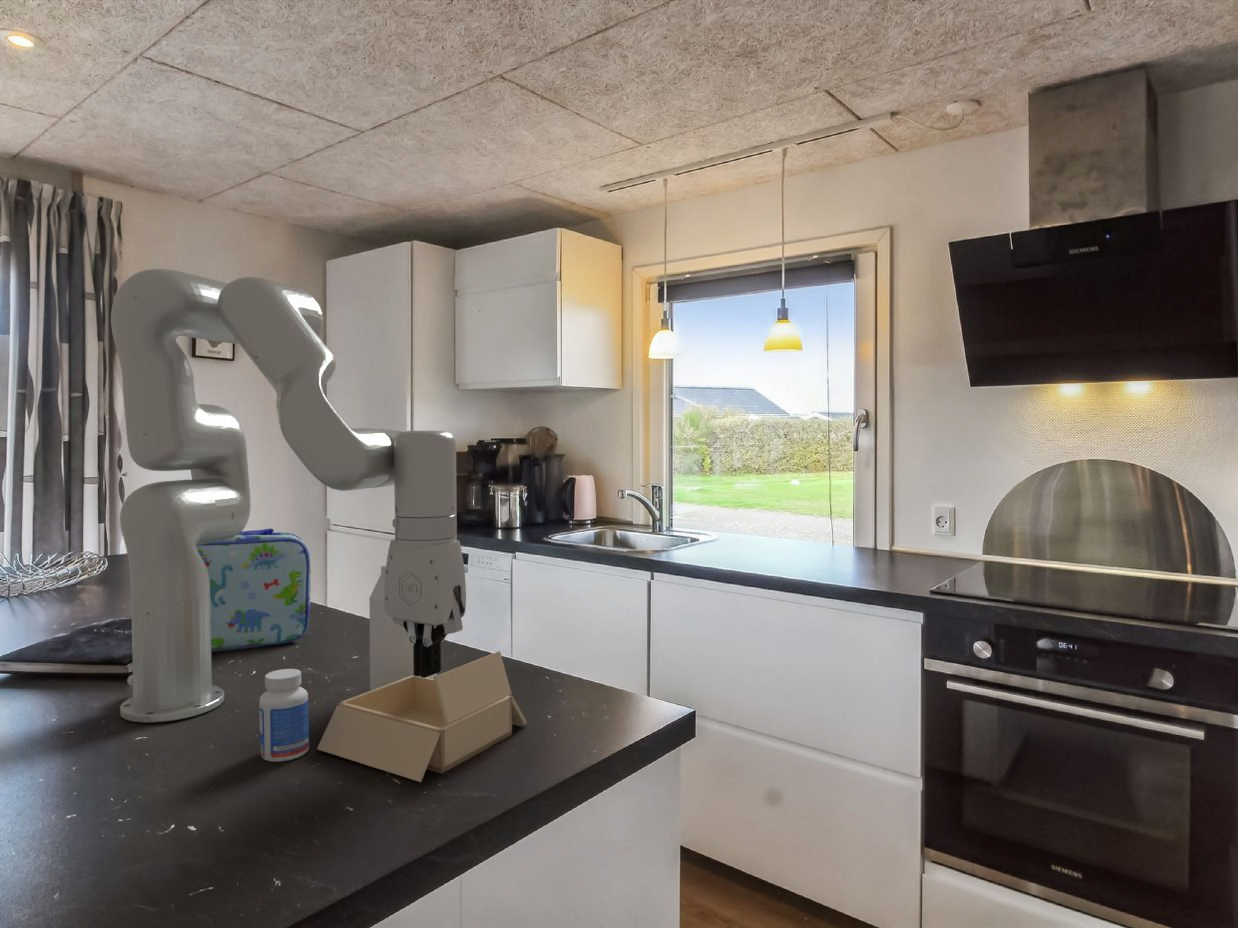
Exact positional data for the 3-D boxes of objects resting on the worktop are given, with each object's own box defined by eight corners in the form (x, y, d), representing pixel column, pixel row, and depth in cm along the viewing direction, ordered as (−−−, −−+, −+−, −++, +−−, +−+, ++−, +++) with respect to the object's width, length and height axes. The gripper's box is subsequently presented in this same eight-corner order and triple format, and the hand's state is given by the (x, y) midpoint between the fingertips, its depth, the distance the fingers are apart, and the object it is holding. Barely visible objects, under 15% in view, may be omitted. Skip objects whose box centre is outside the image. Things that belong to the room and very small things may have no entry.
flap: (445, 723, 88) (433, 676, 89) (508, 694, 98) (497, 651, 99) (448, 723, 88) (436, 675, 89) (511, 693, 98) (499, 651, 99)
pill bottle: (318, 747, 95) (318, 669, 94) (286, 765, 90) (285, 683, 89) (283, 741, 96) (282, 664, 96) (249, 758, 91) (248, 677, 91)
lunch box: (306, 629, 149) (305, 522, 148) (315, 643, 140) (314, 528, 139) (149, 648, 136) (146, 530, 135) (147, 664, 127) (145, 538, 126)
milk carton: (415, 705, 109) (415, 572, 108) (369, 701, 111) (368, 570, 110) (437, 689, 116) (437, 564, 115) (393, 685, 117) (393, 562, 117)
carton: (296, 746, 95) (296, 706, 95) (414, 697, 112) (414, 663, 112) (419, 785, 85) (419, 741, 85) (528, 725, 102) (528, 688, 102)
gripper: (360, 528, 97) (362, 672, 98) (450, 537, 89) (452, 692, 90) (404, 522, 103) (406, 657, 104) (492, 529, 96) (492, 675, 97)
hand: (427, 673), depth 97 cm, fingers closed
